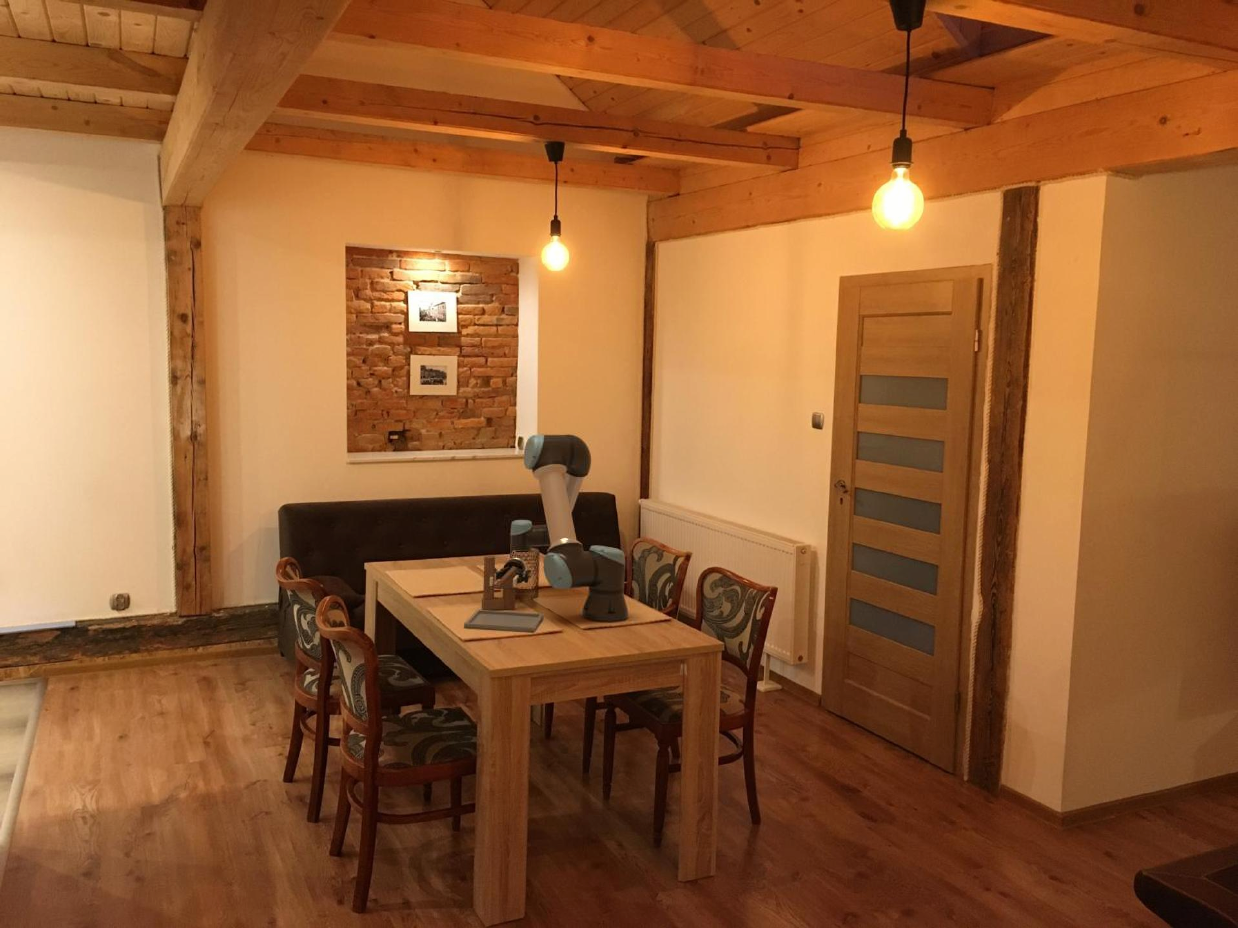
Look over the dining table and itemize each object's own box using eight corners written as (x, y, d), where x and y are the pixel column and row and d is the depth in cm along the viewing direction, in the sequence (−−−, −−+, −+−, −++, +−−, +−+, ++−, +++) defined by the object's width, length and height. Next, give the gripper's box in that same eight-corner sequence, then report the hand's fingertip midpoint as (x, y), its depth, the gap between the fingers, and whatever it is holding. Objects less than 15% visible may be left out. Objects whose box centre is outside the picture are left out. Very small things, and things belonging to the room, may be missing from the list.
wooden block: (515, 609, 356) (516, 556, 354) (483, 610, 352) (485, 557, 351) (512, 606, 359) (514, 554, 358) (481, 608, 356) (482, 555, 354)
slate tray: (543, 618, 346) (543, 613, 346) (533, 632, 328) (533, 627, 328) (477, 614, 348) (477, 609, 348) (464, 627, 330) (464, 623, 330)
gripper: (543, 580, 373) (532, 595, 350) (486, 577, 374) (472, 591, 352) (543, 559, 372) (532, 572, 349) (487, 556, 374) (472, 569, 351)
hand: (502, 582), depth 351 cm, fingers open, 7 cm apart
